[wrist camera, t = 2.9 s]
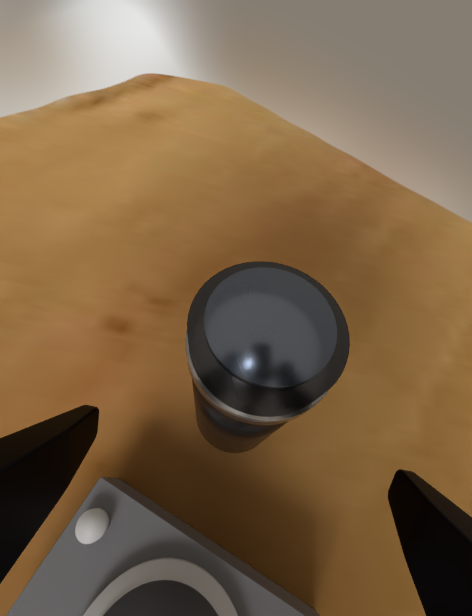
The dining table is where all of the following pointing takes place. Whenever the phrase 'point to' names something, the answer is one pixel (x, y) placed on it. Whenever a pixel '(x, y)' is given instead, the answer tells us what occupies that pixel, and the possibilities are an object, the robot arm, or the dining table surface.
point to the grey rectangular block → (145, 567)
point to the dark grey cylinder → (261, 351)
